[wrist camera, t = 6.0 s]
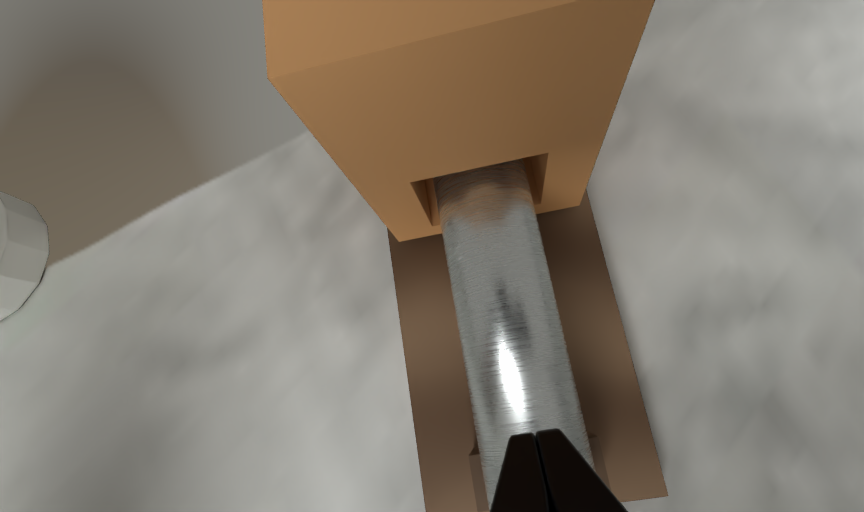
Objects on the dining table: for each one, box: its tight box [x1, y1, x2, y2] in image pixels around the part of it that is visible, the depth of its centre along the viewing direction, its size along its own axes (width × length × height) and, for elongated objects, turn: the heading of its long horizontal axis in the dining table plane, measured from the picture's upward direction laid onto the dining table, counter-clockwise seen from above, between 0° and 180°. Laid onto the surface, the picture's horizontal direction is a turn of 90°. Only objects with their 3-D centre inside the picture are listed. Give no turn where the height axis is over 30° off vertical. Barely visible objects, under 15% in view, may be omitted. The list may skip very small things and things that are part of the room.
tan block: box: [262, 0, 655, 242], centre depth 14 cm, size 5×7×10 cm
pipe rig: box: [387, 158, 668, 512], centre depth 16 cm, size 18×8×6 cm, turn 9°
